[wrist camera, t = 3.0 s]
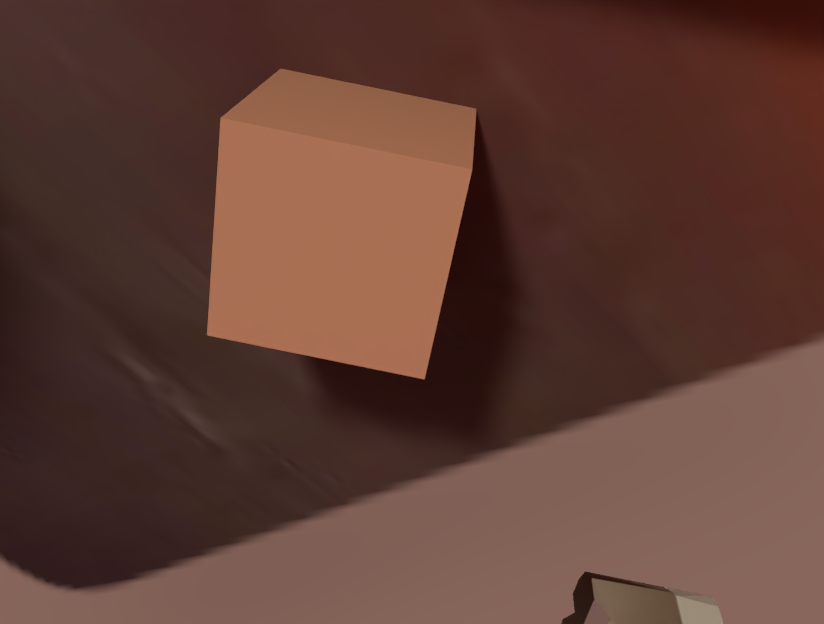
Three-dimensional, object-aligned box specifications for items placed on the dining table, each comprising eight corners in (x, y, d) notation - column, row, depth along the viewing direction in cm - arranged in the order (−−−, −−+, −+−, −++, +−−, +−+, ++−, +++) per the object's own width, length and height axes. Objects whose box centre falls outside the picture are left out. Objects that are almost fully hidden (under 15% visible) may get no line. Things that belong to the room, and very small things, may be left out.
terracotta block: (263, 247, 22) (206, 335, 18) (281, 67, 20) (220, 118, 15) (438, 282, 22) (424, 379, 18) (476, 108, 20) (472, 169, 15)
